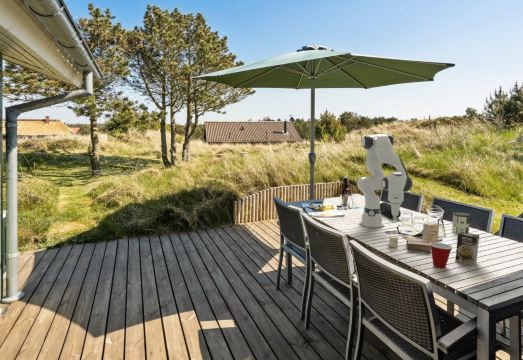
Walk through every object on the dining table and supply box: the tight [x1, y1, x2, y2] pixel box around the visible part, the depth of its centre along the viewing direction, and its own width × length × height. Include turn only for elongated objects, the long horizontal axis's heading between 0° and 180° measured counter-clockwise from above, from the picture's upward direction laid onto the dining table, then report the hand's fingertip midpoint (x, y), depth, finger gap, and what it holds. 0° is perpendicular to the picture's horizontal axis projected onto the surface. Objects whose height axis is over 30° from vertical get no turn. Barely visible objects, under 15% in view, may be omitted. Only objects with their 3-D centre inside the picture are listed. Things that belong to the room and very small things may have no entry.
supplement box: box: [422, 222, 440, 243], centre depth 195 cm, size 8×5×13 cm, turn 105°
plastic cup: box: [430, 242, 454, 269], centre depth 161 cm, size 11×11×12 cm
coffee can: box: [451, 211, 471, 235], centre depth 215 cm, size 10×10×14 cm
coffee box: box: [455, 232, 480, 267], centre depth 165 cm, size 9×6×16 cm
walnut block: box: [406, 236, 431, 254], centre depth 187 cm, size 12×12×5 cm
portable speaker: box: [380, 201, 402, 219], centre depth 265 cm, size 26×10×10 cm, turn 2°
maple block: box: [388, 234, 399, 248], centre depth 192 cm, size 5×5×6 cm
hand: (394, 219), depth 190 cm, fingers open, 8 cm apart
